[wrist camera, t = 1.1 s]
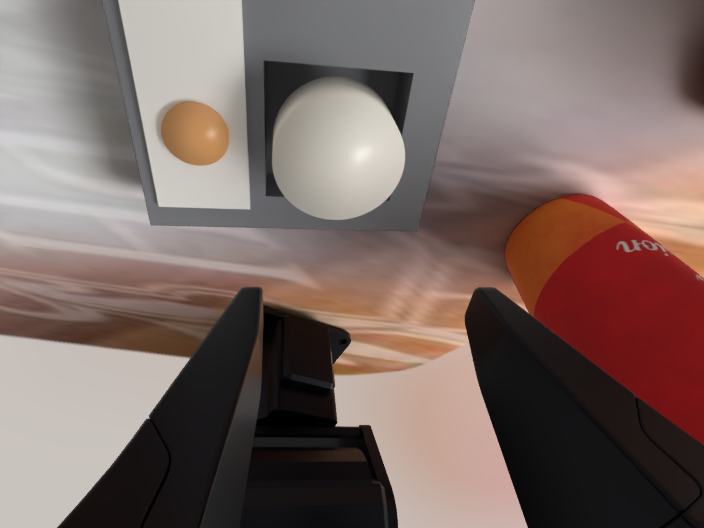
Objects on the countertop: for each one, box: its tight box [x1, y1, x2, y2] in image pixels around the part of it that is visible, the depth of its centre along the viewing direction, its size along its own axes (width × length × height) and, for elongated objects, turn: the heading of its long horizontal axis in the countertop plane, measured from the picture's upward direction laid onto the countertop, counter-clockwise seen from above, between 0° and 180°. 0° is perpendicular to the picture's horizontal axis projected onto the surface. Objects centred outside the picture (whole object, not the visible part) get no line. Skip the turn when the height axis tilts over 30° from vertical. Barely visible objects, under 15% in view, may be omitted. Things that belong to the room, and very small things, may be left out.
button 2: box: [272, 76, 405, 220], centre depth 15 cm, size 4×4×2 cm
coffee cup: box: [505, 195, 704, 444], centre depth 18 cm, size 8×8×15 cm
